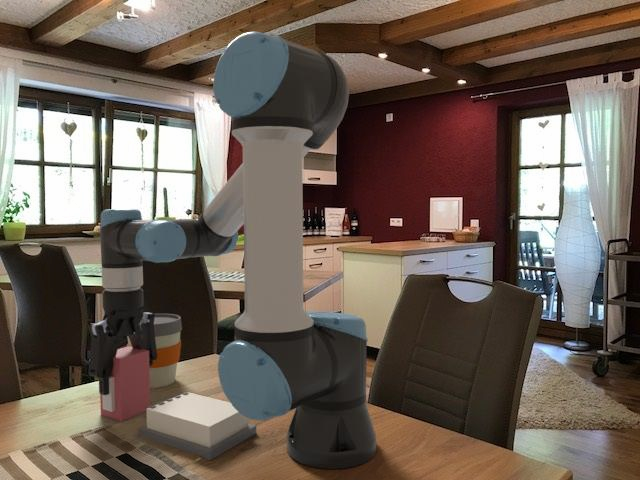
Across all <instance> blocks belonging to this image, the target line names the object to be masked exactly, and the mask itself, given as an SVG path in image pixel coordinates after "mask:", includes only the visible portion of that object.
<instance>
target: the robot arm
mask: <svg viewBox="0 0 640 480" xmlns="http://www.w3.org/2000/svg"><path fill="white" fill-rule="evenodd" d="M212 84H213V85H212V86H213V87H212V88H213V96H214V99H215V102H216V103H217V105H218V107H219V109H220V110H221V111H222V112H223V113H224V114H225V115H227V116H228V117H231V136H233V137H234V138H235V139H236V141H238V142H239V143H240V145H241V146H242V163H241V164H240V166H239V167H238V168H237V169H236V170H235V172H234V173H233V174H232V176H230V178H229V179H228V180H227V182H226V183H225V184H224V185H223V187H222V188H220V190H219V192H217V194H216V195H215V196H214V198H213V199H212V200H211V202H210V203H208V205H207V207H205V209H204V210H203V211H202V212H201V213H200V214H199V216H198V217H196V218H183V219H182V218H181V219H179V218H178V219H143V218H142V212H141V211H140V209H136V208H135V209H133V208H124V209H122V208H119V209H118V208H116V209H115V208H111V209H110V208H108V209H107V208H106V209H104V210H102V211H101V214H100V227H99V234H100V235H99V237H100V255H101V256H100V259H101V287H102V288H104V290H103V291H102V292H101V294H102V295H101V298H102V300H101V301H102V309H103V311H104V313H103V314H104V315H103V317H102V320H101V321H99V322H97V323H93V322H92V323H90V324H89V333H90V337H91V338H90V349H89V360H88V361H89V363H88V375H89V376H90V377H95V378H98V392H99V395H100V394H102V402H103V409H104V410H107V411H111V412H113V411H115V384H114V377H112V376H111V372H112V368H113V357H116V354H117V350H118V349H119V345H120V343H122V341H123V338H124V337H127V336H128V337H129V339H130V342H131V345H132V347H133V348H135V349H140V350H141V349H145V350H149V366H152V365H153V360H156V359H157V350H156V341H155V333H154V318H155V314H156V313H154V312H145V311H144V312H143V309H142V307H143V306H144V289H142V287H143V285H144V272H143V271H144V270H143V269H144V268H143V261H147V262H153V263H155V264H156V263H157V264H159V263H170V262H174V261H176V260H180V259H188V258H189V259H190V258H198V257H200V258H201V257H218V256H221V255H226V254H229V253H231V252H233V251H234V250H235V248H236V247H237V242H238V240H239V230H240V229H241V228H242V227H243V254H244V255H243V257H244V258H243V263H244V265H243V266H244V267H243V268H244V271H243V273H244V278H243V279H244V310H243V313H241V315H240V316H238V318H237V319H236V320H235V321H234V340H233V341H231V342H230V343H228V344H227V345H225V346H224V347H223V350H222V352H221V353H220V354H219V357H218V363H217V370H218V371H217V372H218V378H219V383H220V386H221V389H222V391H223V393H224V395H225V397H226V398H227V400H228V402H230V403H231V404H232V406H233V407H234V408H235V409H236V410H237V411H238V412H239V413H241V414H242V415H243V416H245V417H247V418H248V420H249V419H250V420H253V421H260V422H261V421H267V420H270V419H273V418H275V417H283V416H285V415H286V414H288V412H290V411H293V410H294V412H293V414H292V415H293V416H292V419H291V421H290V424H289V427H288V431H287V434H286V451H287V454H288V455H289V456H290V458H292V459H293V460H295V461H297V462H299V463H300V464H303V465H306V466H309V467H313V468H319V469H329V470H331V469H332V470H333V469H347V468H351V467H356V466H359V465H362V464H364V463H367V462H368V461H369V460H371V459H372V458H373V457H374V456H375V455H376V452H377V435H376V434H377V433H376V431H375V428H374V425H373V422H372V418H371V415H370V411H369V408H368V406H367V353H368V352H367V346H368V344H367V343H368V337H367V326H366V322H365V321H364V319H363V318H361V316H360V317H359V316H357V315H354V314H349V313H344V312H343V313H342V312H335V311H334V312H332V311H322V310H321V311H319V310H306V311H305V309H304V237H303V236H304V215H303V213H304V211H303V210H304V209H303V207H304V206H303V205H304V203H303V202H304V201H303V194H304V193H303V158H305V156H306V155H307V154H308V153H309V152H310V151H318V150H319V149H320V148H322V146H323V145H324V144H325V143H327V141H328V140H329V139H330V138H331V137H332V136H333V134H334V132H335V131H336V130H337V128H338V127H339V125H340V124H341V122H342V121H343V119H344V116H345V113H346V111H347V108H348V104H349V97H350V89H349V83H348V79H347V77H346V73H345V72H344V70H343V68H342V67H341V65H340V64H339V63H338V62H337V61H336V60H335V59H334V58H333V57H332V56H330V55H328V54H326V53H325V52H323V51H318V50H315V49H311V48H308V47H307V46H303V45H300V44H297V43H295V42H292V41H289V40H287V39H283V38H282V37H281V36H279V35H278V34H277V35H276V34H268V33H264V32H260V31H248V32H244V33H242V34H241V35H239V36H237V37H235V39H233V40H231V42H230V43H229V44H228V45H227V47H226V48H225V51H224V52H223V53H222V54H221V56H220V58H219V60H218V61H217V64H216V67H215V70H214V75H213V83H212ZM140 322H141V329H140V326H139V324H140ZM141 330H142V331H141ZM141 335H142V336H141ZM142 338H143V339H142Z"/></svg>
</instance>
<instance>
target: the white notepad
mask: <svg viewBox="0 0 640 480" xmlns="http://www.w3.org/2000/svg"><path fill="white" fill-rule="evenodd" d="M146 410H147V411H146V424H145V425H144V426H142V427H139V428H138V436H139V437H142V438H145V439H148V440H151V441H154V442H158V443H161V444H164V445H167V446H170V447H173V448H175V449H176V448H177V449H178V450H182V451H185V452H188V453H190V454H194V455H197V456H199V458H202V459H205V460H208V461H212V460H213V459H215V458H217V457H219V456H220V455H222V454H224V453H225V452H227V451H230V449H232V448H234V447H236V446H237V445H239V444H241V443H243V442H245V441H246V440H248V439H249V438H251V437H253V436H255V435H256V434H257V425H256V424H253V423H249V418H247V417H245V416H243V415H242V414H241V413H239V412H238V411H237V410H236V409H235V408H234V407H233V406H232V404H231V402H230V401H225V400H221V399H216V398H213V397H209V396H205V395H201V394H197V393H192V392H189V391H187V392H186V391H185V392H182V394H180V395H179V394H177V395H175V396H174V397H172V398H167V399H166V400H165V401H160V402H158V403H156V404H155V405H150V407H149V408H147V409H146Z"/></svg>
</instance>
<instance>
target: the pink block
mask: <svg viewBox="0 0 640 480" xmlns="http://www.w3.org/2000/svg"><path fill="white" fill-rule="evenodd" d="M111 376H112V377H114V384H115V411H113V412H111V411H107V410H104V409H103V402H102V394H100V393H99V395H100V396H99V398H100V401H99V402H100V416H103V417H106V418H110V419H113V420H116V421H120V422H123V421H124V420H128V419H130V418H133V417H134V416H138V415H141V414H142V413H144V412H147V410H146V409H147V408H149V407H150V406H151V388H150V369H149V350H145V349H141V350H140V349H135V348H133V347H130V346H128V347H127V346H125V347H122V348H118V350H117V354H116V357H113V368H112V372H111Z"/></svg>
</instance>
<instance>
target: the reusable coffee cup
mask: <svg viewBox="0 0 640 480" xmlns="http://www.w3.org/2000/svg"><path fill="white" fill-rule="evenodd" d="M154 314H155V318H154V333H155V341H156V350H157V359H156V360H153V365H152V366H149V369H150V389H156V388H157V389H158V388H163V387H166V386H170V385H172V384H173V383H174V382H176V376H177V366H178V362H179V361H180V357H181V349H182V347H181V346H182V340H181V332H182V331H183V325H182V319H181V318H182V317H181V316H180V315H179V314H175V313H154ZM139 326H140V329H141V322H140V324H139ZM141 331H142V330H141ZM141 336H142V335H141ZM126 337H127V342H128V343H127V344H126V347H128V346H130V347H132V345H131V342H130V339H129V337H128V336H127V335H126ZM142 339H143V338H142Z"/></svg>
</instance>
